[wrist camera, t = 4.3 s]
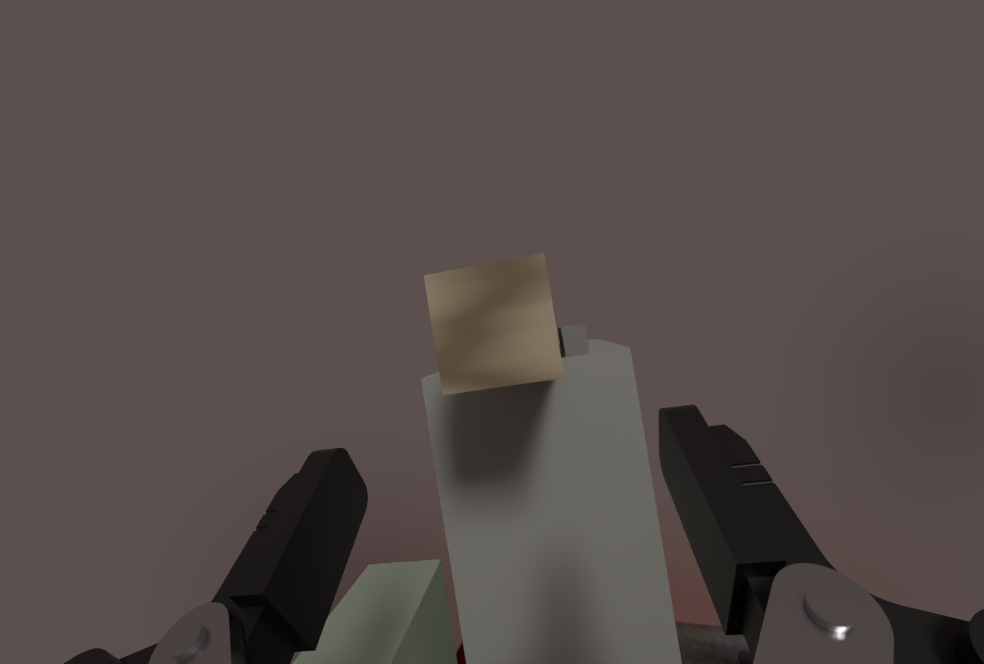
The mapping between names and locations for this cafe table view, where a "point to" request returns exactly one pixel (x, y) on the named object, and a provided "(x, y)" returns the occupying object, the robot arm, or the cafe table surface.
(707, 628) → the cafe table surface
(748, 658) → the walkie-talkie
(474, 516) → the grey stand
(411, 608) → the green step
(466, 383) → the birch bar
